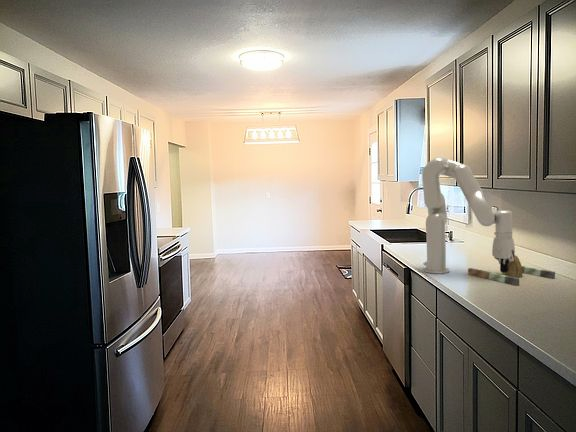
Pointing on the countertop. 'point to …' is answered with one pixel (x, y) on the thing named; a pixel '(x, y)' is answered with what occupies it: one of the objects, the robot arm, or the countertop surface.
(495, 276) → the channel
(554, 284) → the countertop surface
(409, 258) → the countertop surface
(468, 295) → the countertop surface
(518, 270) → the rock
